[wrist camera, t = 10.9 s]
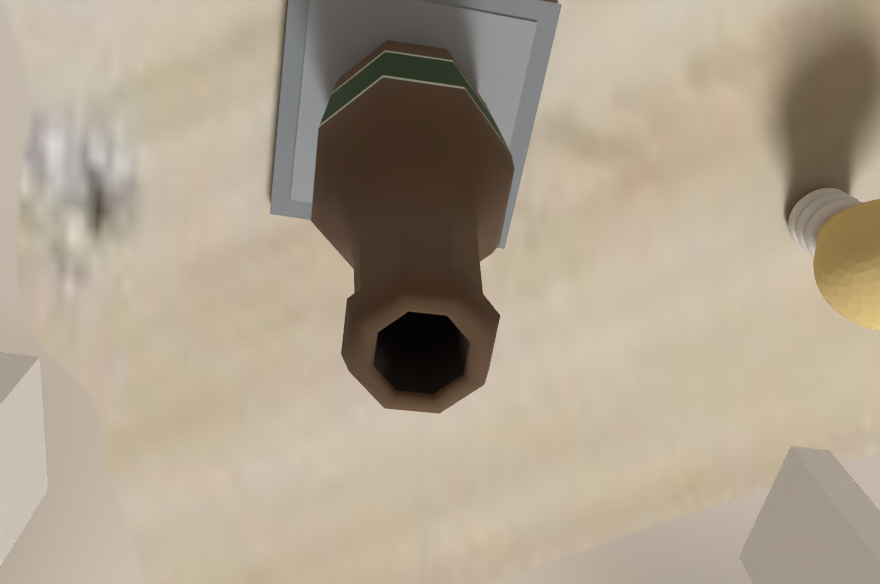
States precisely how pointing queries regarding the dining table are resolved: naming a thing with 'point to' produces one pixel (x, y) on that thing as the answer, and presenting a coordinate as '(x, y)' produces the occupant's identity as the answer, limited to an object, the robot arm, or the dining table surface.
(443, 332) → the beer bottle
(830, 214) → the light bulb
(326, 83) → the plate
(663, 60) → the dining table surface
